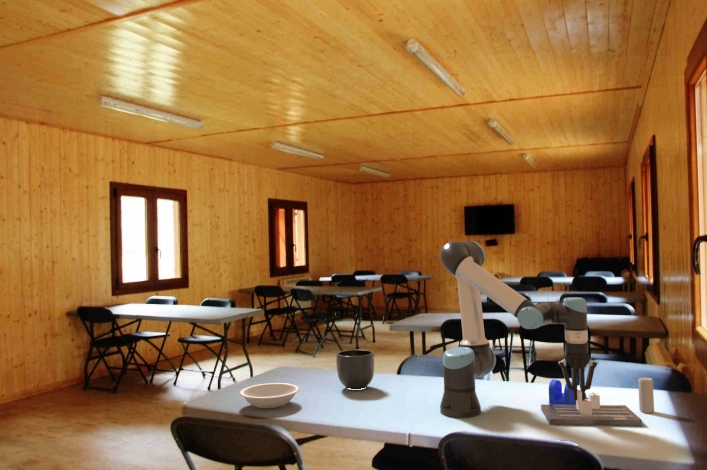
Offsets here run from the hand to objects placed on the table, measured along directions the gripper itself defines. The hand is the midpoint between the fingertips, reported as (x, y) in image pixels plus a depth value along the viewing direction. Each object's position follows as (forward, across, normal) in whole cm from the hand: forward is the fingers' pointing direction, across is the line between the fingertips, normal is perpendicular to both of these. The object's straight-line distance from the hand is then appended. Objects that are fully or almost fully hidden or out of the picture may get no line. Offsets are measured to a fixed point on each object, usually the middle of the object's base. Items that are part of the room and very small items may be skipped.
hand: (579, 409), depth 201 cm
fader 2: (+2, +7, +8) cm, 11 cm away
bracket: (+4, +2, +26) cm, 26 cm away
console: (+4, +4, +4) cm, 7 cm away
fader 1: (+2, +2, 0) cm, 3 cm away
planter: (+4, -86, +43) cm, 96 cm away
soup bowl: (+4, -117, +14) cm, 118 cm away
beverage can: (+4, +26, +12) cm, 29 cm away
